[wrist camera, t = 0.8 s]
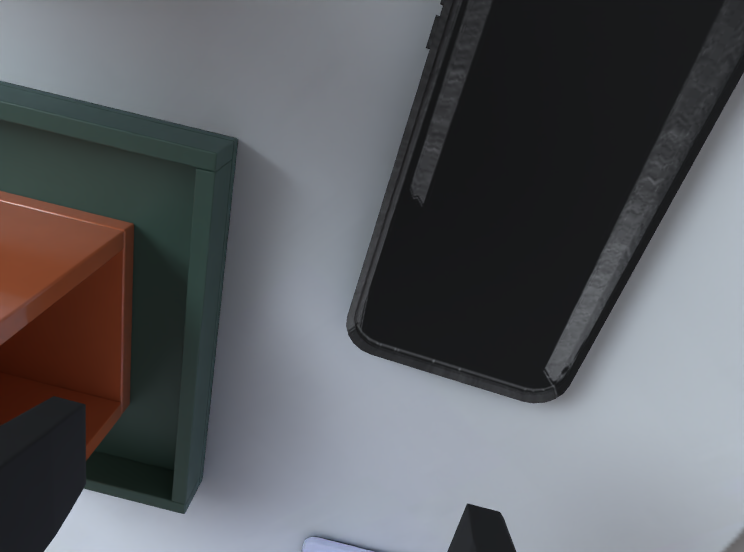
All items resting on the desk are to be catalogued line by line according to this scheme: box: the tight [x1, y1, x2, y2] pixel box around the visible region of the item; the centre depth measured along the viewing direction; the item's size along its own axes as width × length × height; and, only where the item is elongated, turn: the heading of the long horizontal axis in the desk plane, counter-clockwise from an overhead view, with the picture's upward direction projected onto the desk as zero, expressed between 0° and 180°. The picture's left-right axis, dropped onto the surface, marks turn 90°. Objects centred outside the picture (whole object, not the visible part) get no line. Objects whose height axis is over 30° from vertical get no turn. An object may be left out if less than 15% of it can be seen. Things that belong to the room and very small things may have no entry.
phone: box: [346, 0, 744, 403], centre depth 17 cm, size 8×1×15 cm
